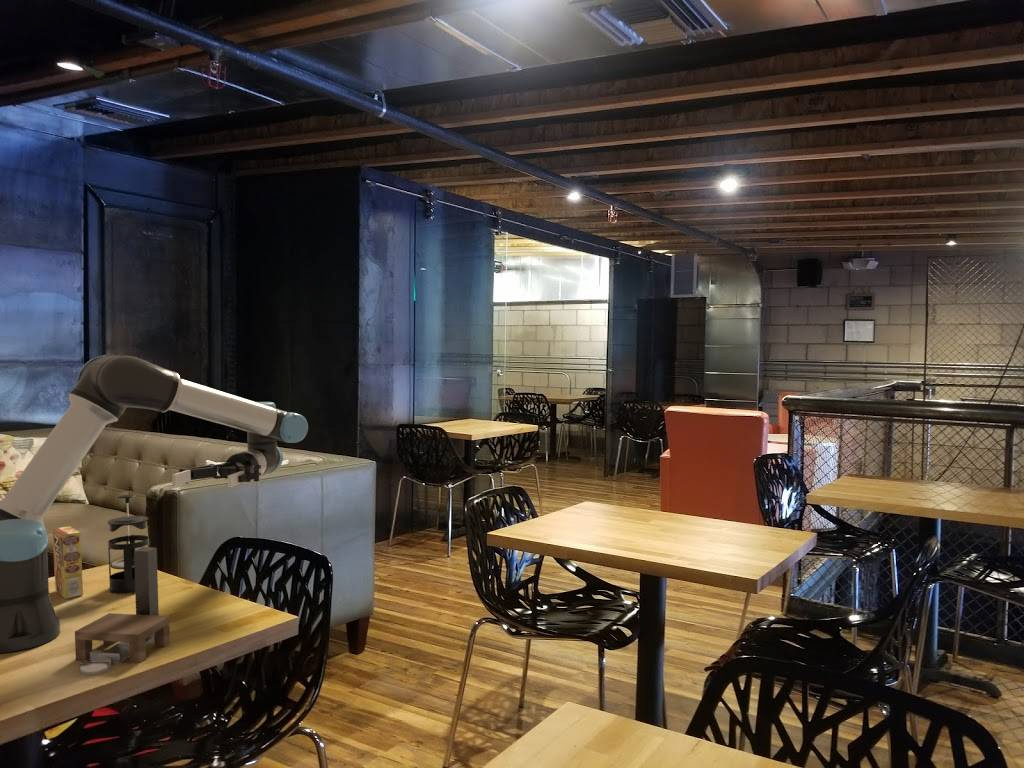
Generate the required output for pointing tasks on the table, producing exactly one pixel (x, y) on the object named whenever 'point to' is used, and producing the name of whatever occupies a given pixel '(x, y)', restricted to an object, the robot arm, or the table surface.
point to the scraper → (138, 600)
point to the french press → (125, 550)
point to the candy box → (67, 562)
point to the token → (95, 666)
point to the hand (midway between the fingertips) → (201, 481)
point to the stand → (123, 634)
